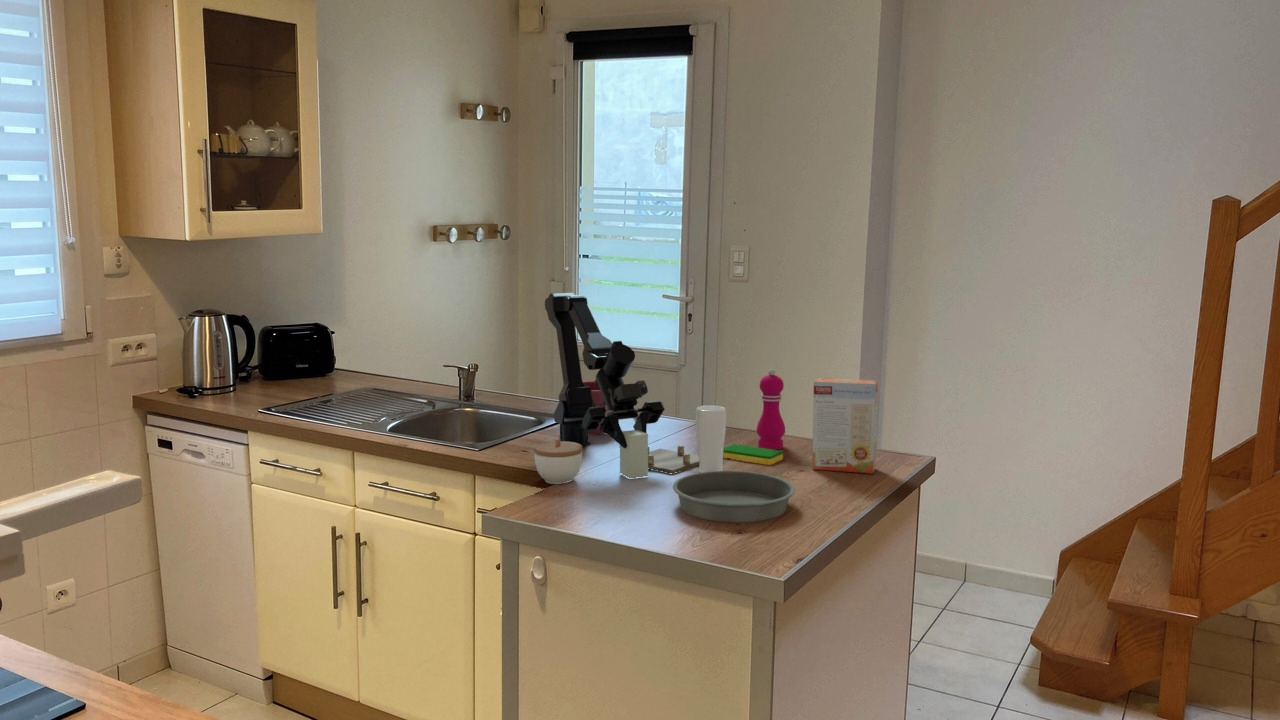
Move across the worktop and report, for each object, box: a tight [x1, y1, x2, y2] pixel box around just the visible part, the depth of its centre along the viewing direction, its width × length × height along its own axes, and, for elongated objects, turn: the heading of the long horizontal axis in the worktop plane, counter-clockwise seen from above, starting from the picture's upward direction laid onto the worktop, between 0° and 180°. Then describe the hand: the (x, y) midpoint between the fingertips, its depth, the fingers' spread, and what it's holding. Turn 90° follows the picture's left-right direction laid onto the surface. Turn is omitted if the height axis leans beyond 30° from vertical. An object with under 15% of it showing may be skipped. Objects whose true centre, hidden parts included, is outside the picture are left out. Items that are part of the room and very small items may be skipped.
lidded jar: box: [533, 438, 584, 485], centre depth 221 cm, size 11×11×9 cm
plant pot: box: [583, 380, 608, 436], centre depth 271 cm, size 14×14×13 cm
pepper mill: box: [755, 368, 786, 450], centre depth 252 cm, size 7×7×20 cm
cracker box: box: [811, 377, 879, 475], centre depth 229 cm, size 14×6×21 cm, turn 71°
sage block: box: [619, 429, 649, 478], centre depth 225 cm, size 5×4×10 cm
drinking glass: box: [695, 404, 727, 473], centre depth 227 cm, size 7×7×15 cm
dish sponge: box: [723, 443, 784, 466], centre depth 242 cm, size 7×14×2 cm, turn 55°
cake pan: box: [672, 470, 796, 523], centre depth 202 cm, size 25×25×4 cm
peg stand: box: [648, 444, 699, 475], centre depth 237 cm, size 15×15×3 cm
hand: (635, 446), depth 224 cm, fingers closed on sage block, 4 cm apart
